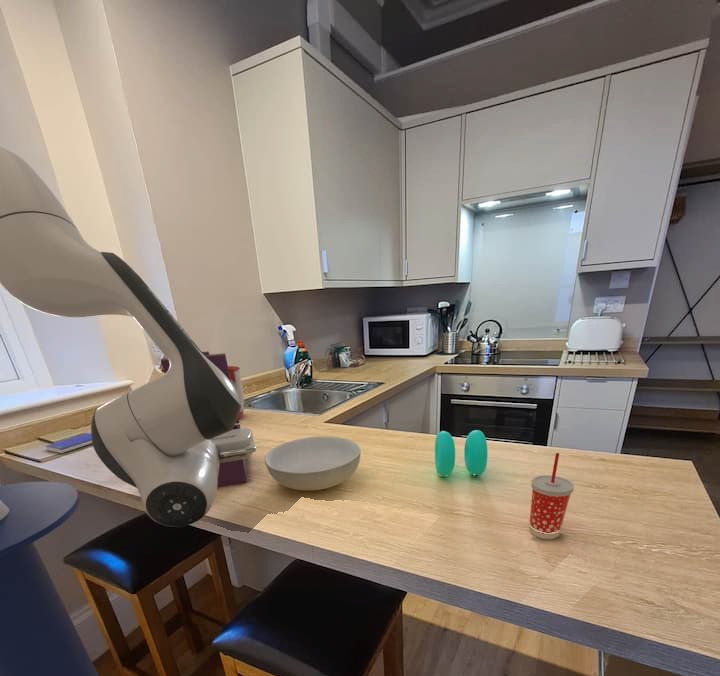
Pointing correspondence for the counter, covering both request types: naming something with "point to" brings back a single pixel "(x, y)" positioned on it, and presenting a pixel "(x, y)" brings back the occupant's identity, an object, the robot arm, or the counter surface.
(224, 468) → the box
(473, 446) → the pair of teal ovoids
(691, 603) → the counter surface
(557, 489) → the beverage cup
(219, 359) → the lid
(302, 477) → the serving bowl
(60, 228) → the robot arm
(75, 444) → the hard drive
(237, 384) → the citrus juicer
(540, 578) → the counter surface
